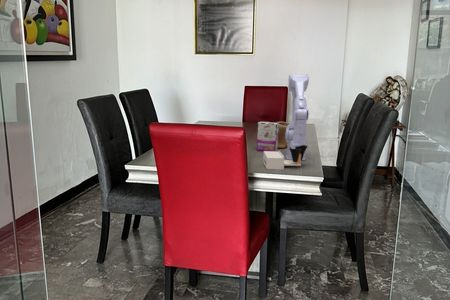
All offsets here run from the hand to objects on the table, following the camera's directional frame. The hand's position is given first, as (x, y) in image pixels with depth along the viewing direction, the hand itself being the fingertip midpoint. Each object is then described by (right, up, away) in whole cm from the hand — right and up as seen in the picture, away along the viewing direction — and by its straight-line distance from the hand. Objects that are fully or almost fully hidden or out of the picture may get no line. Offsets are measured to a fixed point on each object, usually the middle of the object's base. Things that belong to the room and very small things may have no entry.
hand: (297, 160), depth 195 cm
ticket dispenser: (-12, -2, 0) cm, 12 cm away
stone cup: (-2, +7, +44) cm, 45 cm away
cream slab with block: (-6, -1, 0) cm, 6 cm away
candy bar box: (-12, +5, +31) cm, 34 cm away
